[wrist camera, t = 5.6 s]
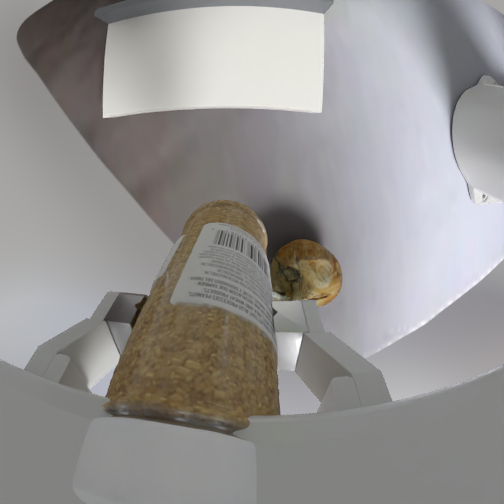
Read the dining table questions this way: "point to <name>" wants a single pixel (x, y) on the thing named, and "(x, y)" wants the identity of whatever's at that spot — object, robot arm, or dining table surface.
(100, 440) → the sprinkles bottle
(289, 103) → the white slab
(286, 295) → the onion
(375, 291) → the dining table surface
